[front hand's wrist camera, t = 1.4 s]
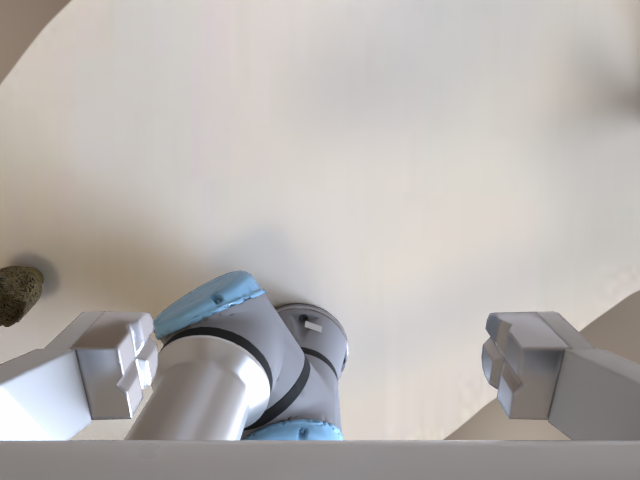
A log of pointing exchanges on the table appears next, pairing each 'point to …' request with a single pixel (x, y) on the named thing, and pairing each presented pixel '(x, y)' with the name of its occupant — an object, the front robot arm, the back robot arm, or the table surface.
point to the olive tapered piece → (18, 292)
